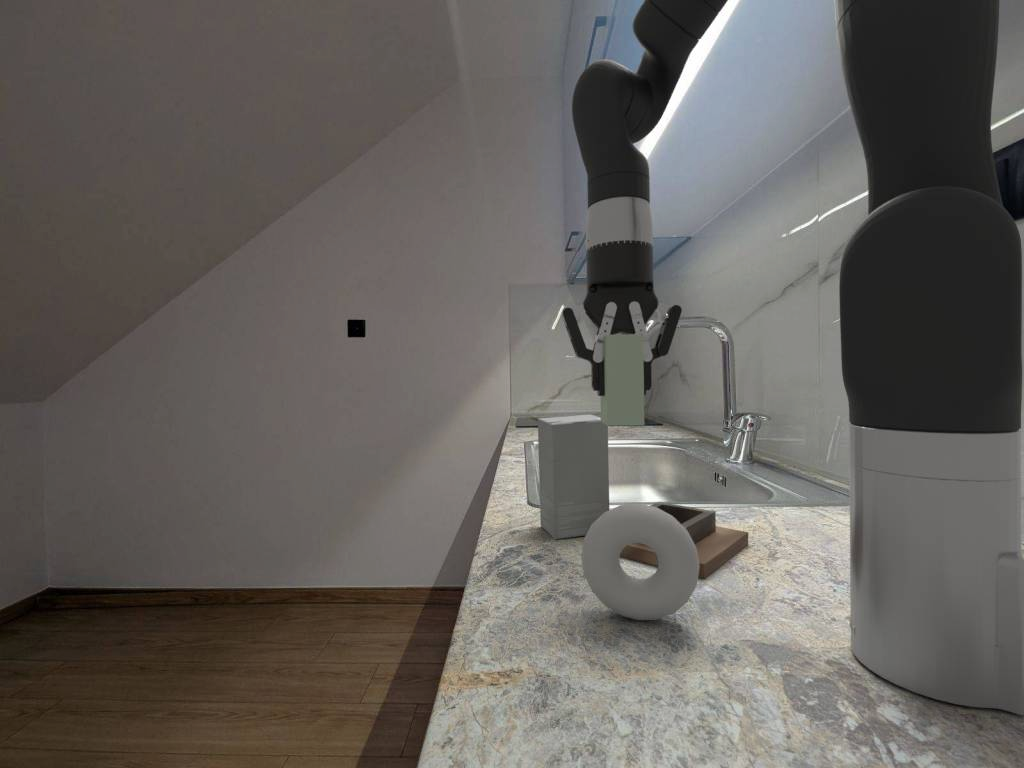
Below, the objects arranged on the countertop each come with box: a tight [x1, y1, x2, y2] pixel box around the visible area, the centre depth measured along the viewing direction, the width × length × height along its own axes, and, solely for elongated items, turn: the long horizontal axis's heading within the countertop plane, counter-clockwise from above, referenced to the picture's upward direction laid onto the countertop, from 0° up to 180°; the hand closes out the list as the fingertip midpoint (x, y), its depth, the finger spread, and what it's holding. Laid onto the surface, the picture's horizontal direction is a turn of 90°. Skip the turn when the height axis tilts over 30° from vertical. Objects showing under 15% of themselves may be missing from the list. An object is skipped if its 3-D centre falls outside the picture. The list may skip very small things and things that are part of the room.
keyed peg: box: [599, 334, 645, 427], centre depth 57 cm, size 6×4×10 cm, turn 177°
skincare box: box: [537, 414, 610, 540], centre depth 67 cm, size 8×7×16 cm
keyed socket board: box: [620, 501, 749, 579], centre depth 61 cm, size 14×14×4 cm
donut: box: [581, 503, 700, 621], centre depth 43 cm, size 10×4×10 cm, turn 74°
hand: (621, 394), depth 57 cm, fingers closed on keyed peg, 4 cm apart
